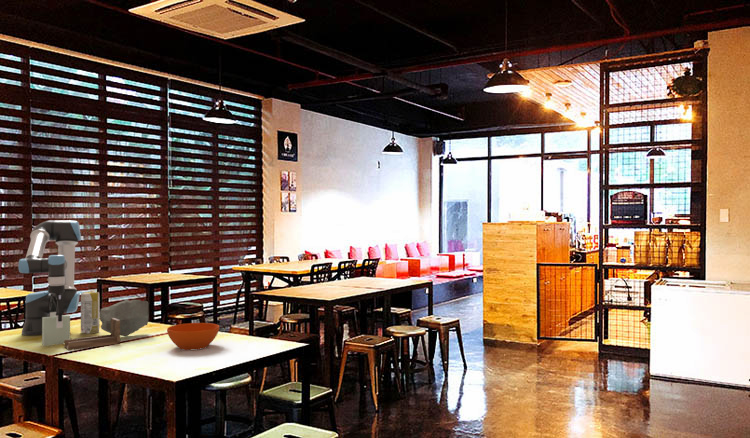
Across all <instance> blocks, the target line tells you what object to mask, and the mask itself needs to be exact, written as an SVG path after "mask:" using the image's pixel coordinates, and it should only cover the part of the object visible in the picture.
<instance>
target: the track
mask: <svg viewBox="0 0 750 438" xmlns="http://www.w3.org/2000/svg"><path fill="white" fill-rule="evenodd" d="M118 344H121V335H120V320H118V319H116V318H111V333H110V334H103V335H96V336H87V337H79V338H72V339H71V338H70V339H69V340H64V344H63V347H64V348H65V349H67V350H68V351H72V349H74V350H80V349H88V347H89V348H93V347H94V348H95V347H102V346H110V345H118Z"/></svg>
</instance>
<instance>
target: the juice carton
mask: <svg viewBox="0 0 750 438" xmlns="http://www.w3.org/2000/svg"><path fill="white" fill-rule="evenodd" d="M100 301H101V300H100V292H99V291H98V292H96V290H95V289H91V290H89V291H84V292H83V291H82V292H81V293H80V333H83V334H87V335H90V334H91V335H92V334H95V333H99V332H100V311H101V308H100V306H101V305H100V304H101V303H100Z"/></svg>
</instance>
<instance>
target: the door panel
mask: <svg viewBox="0 0 750 438" xmlns="http://www.w3.org/2000/svg"><path fill="white" fill-rule="evenodd" d="M41 338H42V340H41V345H42V346H44V347H45V346H46V347H47V345H48V346H54V344H56V345H61V344H63V343H64V340H69V339H71V316H70V315H69V314H66V315H65V314H63V328H56V316H52V317H50V316H49V317H42V335H41ZM63 345H64V344H63Z"/></svg>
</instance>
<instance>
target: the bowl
mask: <svg viewBox="0 0 750 438" xmlns="http://www.w3.org/2000/svg"><path fill="white" fill-rule="evenodd" d="M166 330H167V331H166V332H167V334H168V337H169V339H170V340H171V341H172V343H174V345H175V346H176V347H178V349H179V350H182V349H184V351H192V350H191V349H197V350H201V349H200V348H203V349H206V348H208V347H209V345H210V344H212V343H213V341H214V340H215V339H216V337H217V336H218V333H219V331H220V325H219V324H216V323H210V322H193V323H192V322H191V323H190V322H189V323H181V324H175V325H171V326H169V327H167V328H166ZM207 346H208V347H207ZM205 347H206V348H205Z"/></svg>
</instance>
